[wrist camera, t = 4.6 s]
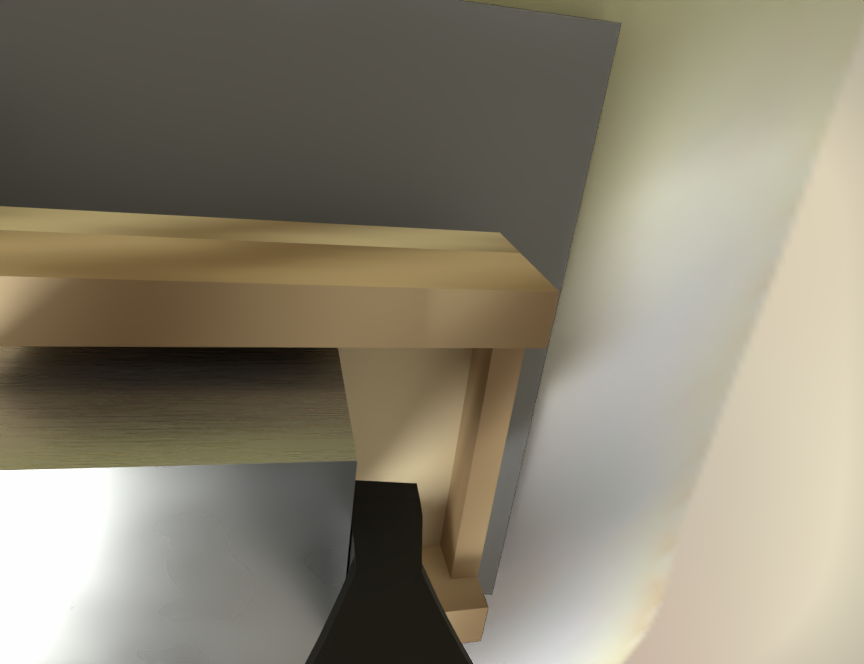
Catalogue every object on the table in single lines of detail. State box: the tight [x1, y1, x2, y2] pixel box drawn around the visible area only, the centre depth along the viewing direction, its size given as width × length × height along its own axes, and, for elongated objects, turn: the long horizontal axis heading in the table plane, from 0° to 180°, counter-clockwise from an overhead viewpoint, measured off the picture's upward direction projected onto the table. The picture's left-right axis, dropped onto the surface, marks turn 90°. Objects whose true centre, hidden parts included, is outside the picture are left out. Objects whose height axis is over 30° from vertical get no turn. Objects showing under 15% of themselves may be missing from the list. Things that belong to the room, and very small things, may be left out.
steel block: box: [0, 346, 357, 664], centre depth 10 cm, size 5×5×4 cm
